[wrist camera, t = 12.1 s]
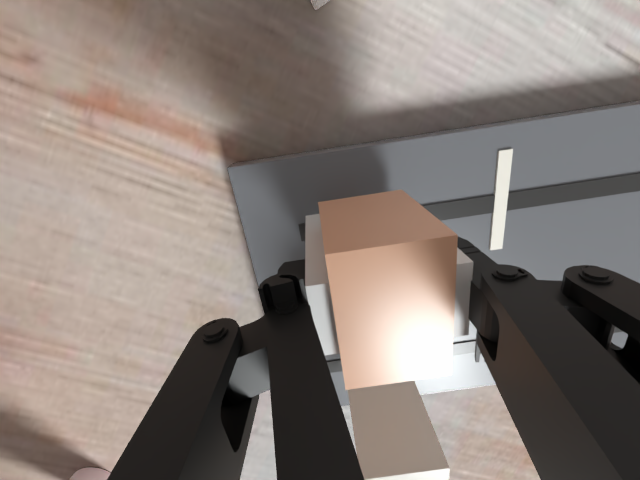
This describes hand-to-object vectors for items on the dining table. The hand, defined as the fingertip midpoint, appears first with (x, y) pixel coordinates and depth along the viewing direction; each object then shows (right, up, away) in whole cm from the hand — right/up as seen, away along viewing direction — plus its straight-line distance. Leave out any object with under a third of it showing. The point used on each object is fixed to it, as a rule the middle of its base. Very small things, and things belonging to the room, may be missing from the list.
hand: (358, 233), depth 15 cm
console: (+9, -2, +5) cm, 10 cm away
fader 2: (+1, -9, +5) cm, 10 cm away
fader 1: (0, 0, +1) cm, 1 cm away
